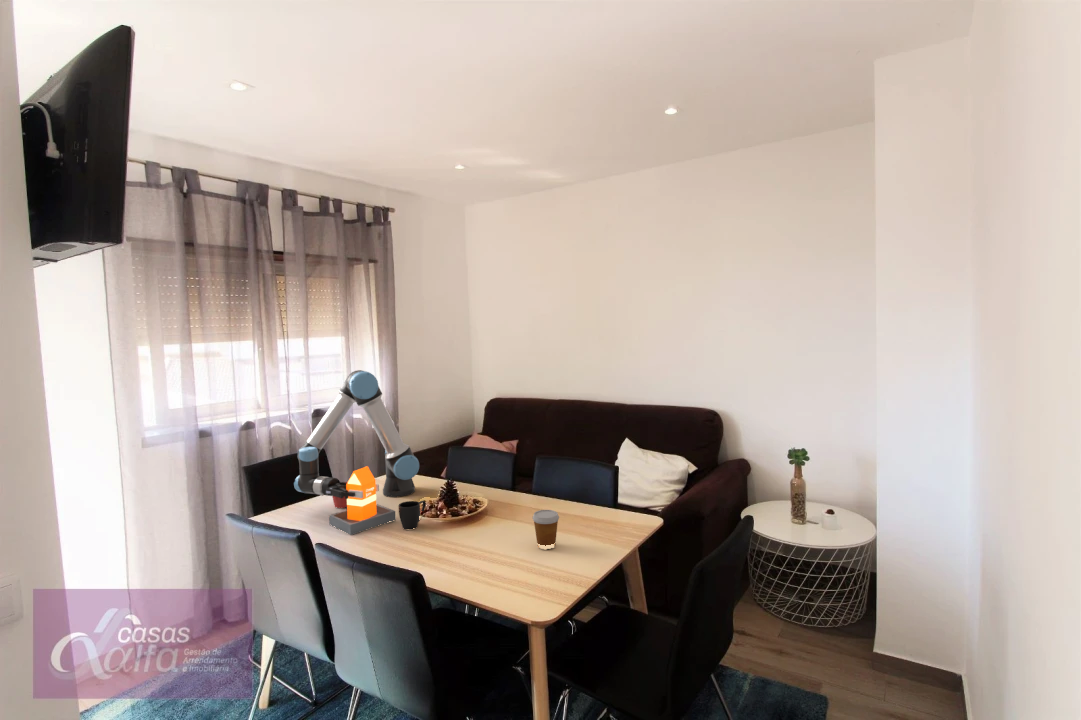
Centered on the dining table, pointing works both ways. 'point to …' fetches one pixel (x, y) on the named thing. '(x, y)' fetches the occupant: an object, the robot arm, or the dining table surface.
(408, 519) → the mug
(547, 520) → the disposable coffee cup
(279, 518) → the dining table surface
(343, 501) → the flower pot
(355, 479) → the orange juice
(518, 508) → the dining table surface
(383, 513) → the tray
